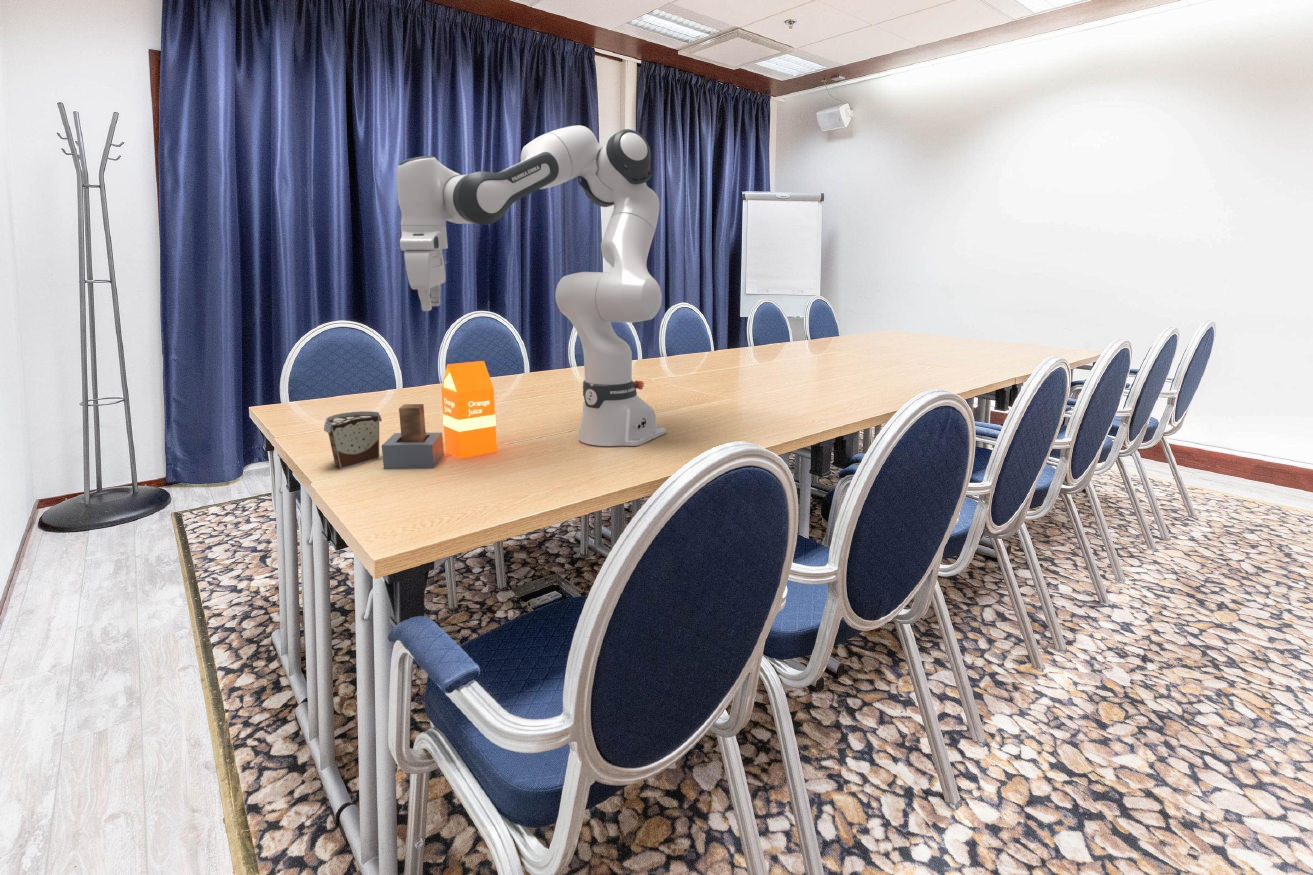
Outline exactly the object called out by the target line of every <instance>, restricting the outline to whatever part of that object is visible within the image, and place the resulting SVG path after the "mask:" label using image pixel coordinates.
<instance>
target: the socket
mask: <svg viewBox="0 0 1313 875" xmlns="http://www.w3.org/2000/svg"><path fill="white" fill-rule="evenodd" d="M443 438H444V436H443V432H426V440H425V442H402V439H401V432H394V433H393V434H392V435H391V436H390V437H389V438H388V439H387V440H386V441H384V442H383V443H382V444H381V454H382V463H383V469H384V470H395V469H399V470H402V469H405V470H407V469H435V467H436V466H437V465H438V464H439V462H440V460H441V459H442V457H443V456H444V454H445V453H444V452H445V451H444V441H443Z"/></svg>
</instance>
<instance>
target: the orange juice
mask: <svg viewBox="0 0 1313 875" xmlns="http://www.w3.org/2000/svg"><path fill="white" fill-rule="evenodd" d="M441 384H442V385H441V388H440V390H441V402H442V403H441V406H442V422H443V424H442V425H443V433H444V434H443V437H444V445H445V446H444V447H445V448H444V449H445V452H447V453H448V454H451V455H453V456H454V457H457V458H458V459H465V458H470V457H471V458H472V457H477V456H481V455H482V456H483V455H487V454H491V453H497V452H498V449H497V448H498V446H497V428H496V426H497V422H496V406H495V387H494V385H493V382H492V380H491V377H490V374H489V371H488V369H487V366H486V362H485V360H479V361H468V362H458V363H448V364H446V369H445V372H444V377H443V379H442V383H441Z"/></svg>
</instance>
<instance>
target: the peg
mask: <svg viewBox="0 0 1313 875" xmlns="http://www.w3.org/2000/svg"><path fill="white" fill-rule="evenodd" d="M398 414H399V415H398V416H399V426H400V433H401V439H402V442H425V440H426V433H427V432H426V421H425V407H424V403H405V404H402V405H400V407H399V408H398Z"/></svg>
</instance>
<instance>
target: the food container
mask: <svg viewBox="0 0 1313 875" xmlns="http://www.w3.org/2000/svg"><path fill="white" fill-rule="evenodd" d="M382 421H383V420H382V417H381V414H380V412H378V411H370V410H369V411H368V410H367V411H350V412H349V411H348V412H343V413H336V414H333V415H330V416H328V417H326V418H325V422H324V427H323V431H324V432H326V433H327V434H328V437H329V439H328V440H329V442H330V447H331V448H330V449H331V452H332V457H333V461H334V465H335V468H336V469H338V470H343V469H347V468H352V467H354V466H355V467H356V466H358V465H362V464H365V463H368V462H372V461H375V460H379V459H380V422H382Z"/></svg>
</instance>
